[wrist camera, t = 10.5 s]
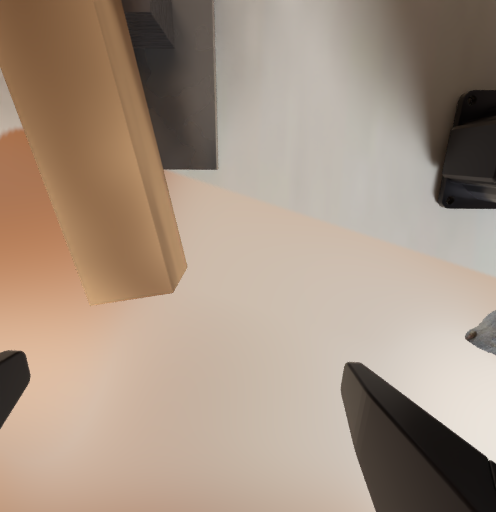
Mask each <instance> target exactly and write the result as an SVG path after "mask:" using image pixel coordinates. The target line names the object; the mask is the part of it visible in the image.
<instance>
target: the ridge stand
mask: <svg viewBox="0 0 496 512" xmlns="http://www.w3.org/2000/svg"><path fill="white" fill-rule="evenodd" d="M121 2H122V6H123V10H124V14H125V18H126V22H127V26H128V30H129V34H130V38H131V42H132V46H133V50H134V54H135V58H136V62H137V66H138V70H139V74H140V78H141V82H142V86H143V90H144V94H145V98H146V102H147V106H148V110H149V114H150V118H151V122H152V126H153V130H154V134H155V138H156V142H157V146H158V150H159V154H160V158H161V163H162V167H163V169H196V170H217V169H218V136H217V97H216V57H215V18H214V0H121Z"/></svg>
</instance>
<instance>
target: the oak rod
mask: <svg viewBox="0 0 496 512" xmlns="http://www.w3.org/2000/svg"><path fill="white" fill-rule="evenodd" d="M0 68H1V70H2V73H3V76H4V78H5V81H6V84H7V86H8V89H9V92H10V94H11V97H12V100H13V102H14V105H15V108H16V110H17V113H18V115H19V118H20V121H21V123H22V126H23V129H24V131H25V134H26V137H27V139H28V142H29V145H30V147H31V150H32V153H33V155H34V158H35V160H36V163H37V166H38V169H39V171H40V174H41V177H42V179H43V182H44V185H45V187H46V190H47V193H48V195H49V198H50V201H51V203H52V206H53V209H54V211H55V214H56V216H57V219H58V222H59V224H60V227H61V230H62V232H63V235H64V238H65V240H66V243H67V246H68V248H69V251H70V254H71V256H72V259H73V262H74V264H75V267H76V270H77V273H78V275H79V278H80V281H81V283H82V286H83V288H84V291H85V294H86V296H87V299H88V302H89V304H90V306H92V305H99V304H105V303H111V302H118V301H125V300H131V299H137V298H144V297H150V296H156V295H163V294H170V293H173V292H174V290H175V288H176V287H177V285H178V283H179V281H180V279H181V278H182V276H183V274H184V272H185V271H186V269H187V263H186V259H185V255H184V251H183V247H182V243H181V239H180V235H179V231H178V227H177V223H176V219H175V215H174V211H173V207H172V203H171V199H170V195H169V191H168V187H167V183H166V179H165V175H164V171H163V167H162V163H161V158H160V154H159V150H158V146H157V142H156V138H155V134H154V130H153V126H152V122H151V118H150V114H149V110H148V106H147V102H146V98H145V94H144V90H143V86H142V82H141V78H140V74H139V70H138V66H137V62H136V58H135V54H134V50H133V46H132V42H131V38H130V34H129V30H128V26H127V22H126V18H125V14H124V10H123V6H122V2H121V0H0Z"/></svg>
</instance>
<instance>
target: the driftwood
mask: <svg viewBox="0 0 496 512" xmlns="http://www.w3.org/2000/svg"><path fill="white" fill-rule="evenodd" d="M465 339H466V340H467V341H469V342H471V343H472V344H473V345H475V346H476V347H477V348H480V349H482V350H484V351H486V352H488V353H492V354H494V355H496V310H495V311H493V312H491V313H490V314H488V316H486V317H485V318H484V319H483V321H482V322H481V323H480V324H479V326H477V327H475V328H474V329H470V330H469V331H468V332H467V333H466V335H465Z"/></svg>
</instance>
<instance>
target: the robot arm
mask: <svg viewBox="0 0 496 512" xmlns="http://www.w3.org/2000/svg"><path fill="white" fill-rule="evenodd" d="M469 97H470V98H471V99H472V102H471V104H470V105H469V104H468V101H467V100H468V98H469ZM442 174H443V178H442V183H441V188H440V193H439V198H438V203H439V205H440V206H441V207H444V208H452V209H496V90H473V91H469V92H466V93H464V94H463V95H462V96H461V97H460V99H459V101H458V105H457V110H456V115H455V120H454V125H453V129H452V130H451V132H450V137H449V142H448V147H447V152H446V156H445V161H444V166H443V171H442ZM449 196H450V201H449V202H448V203H446V199H447V198H448V197H449ZM29 381H30V371H29V367H28V362H27V358H26V355H25V353H24V352H22V351H12V350H11V351H10V350H8V351H4V352H1V353H0V429H1V427H2V425H3V424H4V422H5V421H6V419H7V417H8V416H9V414H10V413H11V411H12V409H13V408H14V406H15V405H16V403H17V401H18V400H19V398H20V397H21V395H22V393H23V392H24V390H25V388H26V387H27V385H28V383H29ZM341 395H342V399H343V403H344V407H345V411H346V416H347V419H348V424H349V428H350V432H351V437H352V441H353V445H354V448H355V452H356V455H357V458H358V461H359V464H360V467H361V470H362V472H363V476H364V479H365V481H366V484H367V487H368V490H369V493H370V496H371V499H372V501H373V504H374V507H375V510H376V512H496V463H494V462H493V461H491V460H489V461H488V459H487V457H486V456H485V455H483V454H482V453H481V452H479V451H478V450H477V449H475V448H474V447H473V446H471V445H470V444H469V443H467V442H466V441H465V440H463V439H462V438H461V437H459V436H458V435H457V434H455V433H454V432H453V431H451V430H450V429H449V428H447V427H446V426H445V425H443V424H442V423H441V422H439V421H438V420H437V419H435V418H434V417H433V416H431V415H430V414H429V413H427V412H426V411H425V410H423V409H422V408H421V407H419V406H418V405H417V404H415V403H414V402H413V401H411V400H410V399H409V398H407V397H406V396H405V395H403V394H402V393H401V392H399V391H398V390H397V389H395V388H394V387H393V386H391V385H390V384H389V383H387V382H386V381H384V380H383V379H382V378H381V377H379V376H378V375H377V374H375V373H374V372H373V371H371V370H370V369H369V368H367V367H366V366H364V365H363V364H362V363H359V362H347V363H346V364H345V366H344V371H343V377H342V383H341Z"/></svg>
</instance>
